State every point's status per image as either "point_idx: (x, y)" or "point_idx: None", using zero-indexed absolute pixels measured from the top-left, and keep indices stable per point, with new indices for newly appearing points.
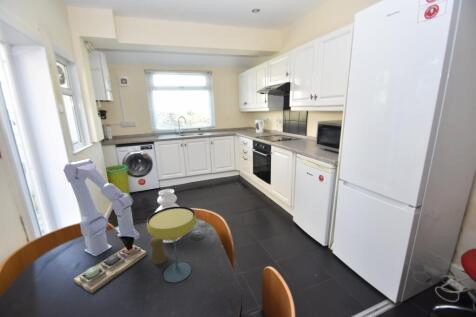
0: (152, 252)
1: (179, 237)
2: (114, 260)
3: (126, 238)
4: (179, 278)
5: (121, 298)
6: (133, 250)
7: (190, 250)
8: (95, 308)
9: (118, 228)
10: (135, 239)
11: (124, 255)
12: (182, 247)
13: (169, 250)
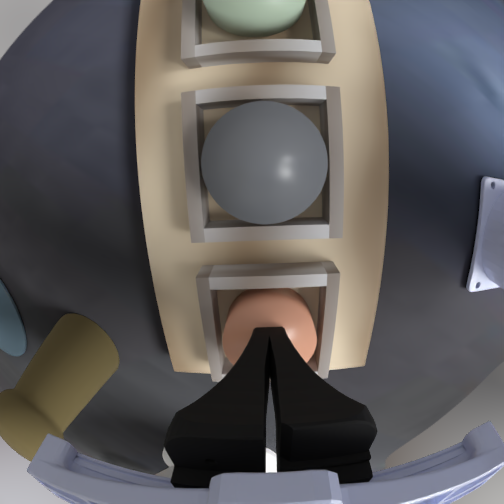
0: (50, 362)
1: (166, 463)
2: (203, 155)
3: (180, 448)
4: None
5: (12, 92)
6: (224, 343)
7: None
8: (61, 3)
9: (467, 479)
10: (52, 436)
11: (252, 272)
12: (102, 424)
13: (119, 404)
